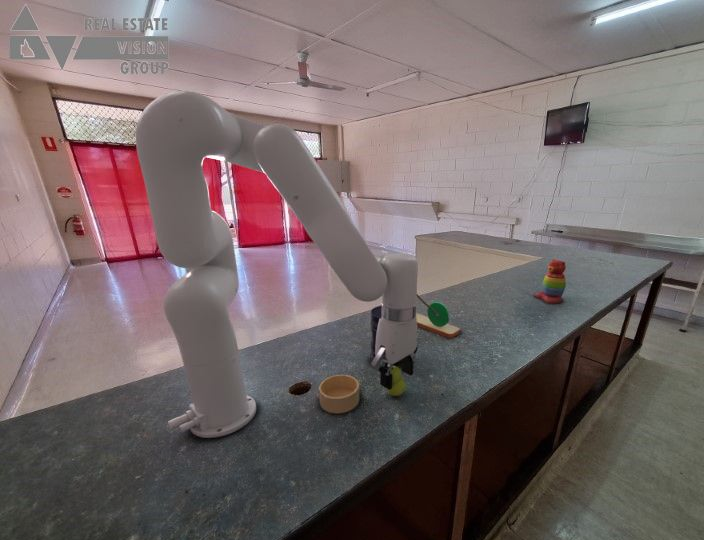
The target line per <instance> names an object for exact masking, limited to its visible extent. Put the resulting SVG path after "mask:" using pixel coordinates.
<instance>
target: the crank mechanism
mask: <svg viewBox="0 0 704 540" xmlns="http://www.w3.org/2000/svg"><path fill="white" fill-rule="evenodd" d="M417 299H419V301H421V303H422V304H424V306H425V307H427V310H426V311H427V312H426V313H427V316H426V315H423V314H421V313H418V312H416V319H417V327H419V328H421V329H424V330H427V331H430V332H431V333H435V334H438V335H440V336H443V337H445V338H450V339H451V338H454V337H456V336H457V335H459V334H460V332H461V331H460V330H461V328H459V327H458V326H456V325H452V324H450V323H449V321H450V312H449V309H448V308H447V306H446V305H445V304H443V303H442V302H439V301H435V302H432V303H430V304H429V303H427V302H426V300H424V299H423V298H422V297H421V296H420V295H419V294H418V293H417Z"/></svg>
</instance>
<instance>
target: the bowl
mask: <svg viewBox="0 0 704 540" xmlns="http://www.w3.org/2000/svg"><path fill="white" fill-rule="evenodd" d="M318 398H319V404H320V408H322V409H323V411H325V412H327V413H330V414H344V413H348V412H350V411H352V410H354V409H355V408H356V407H357V406H358V404H359V403H360V382H359V381H358V379H357V378H355V377H354V376H352V375H348V374H334V375H331V376H328V377H326V378H324V379H323V380H322V382H320V384H319V387H318Z"/></svg>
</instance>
